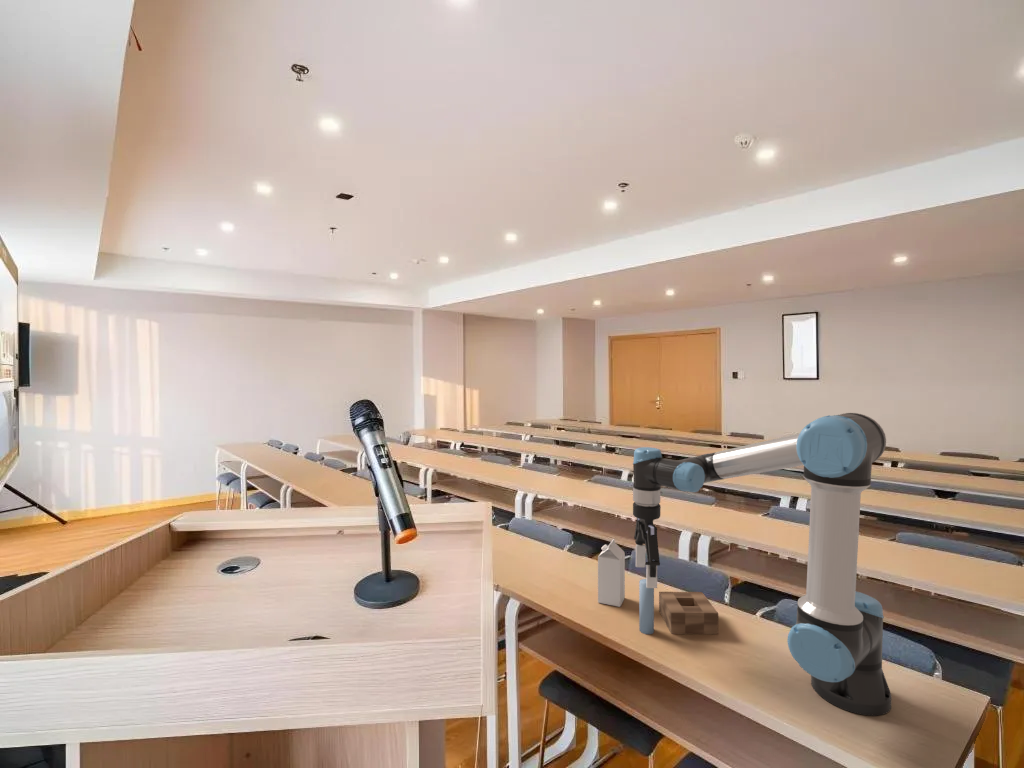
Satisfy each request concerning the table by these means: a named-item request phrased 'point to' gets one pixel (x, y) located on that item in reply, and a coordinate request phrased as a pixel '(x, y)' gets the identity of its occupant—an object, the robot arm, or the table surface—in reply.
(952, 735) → the table surface
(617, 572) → the milk carton
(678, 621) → the socket block
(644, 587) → the peg
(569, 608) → the table surface
